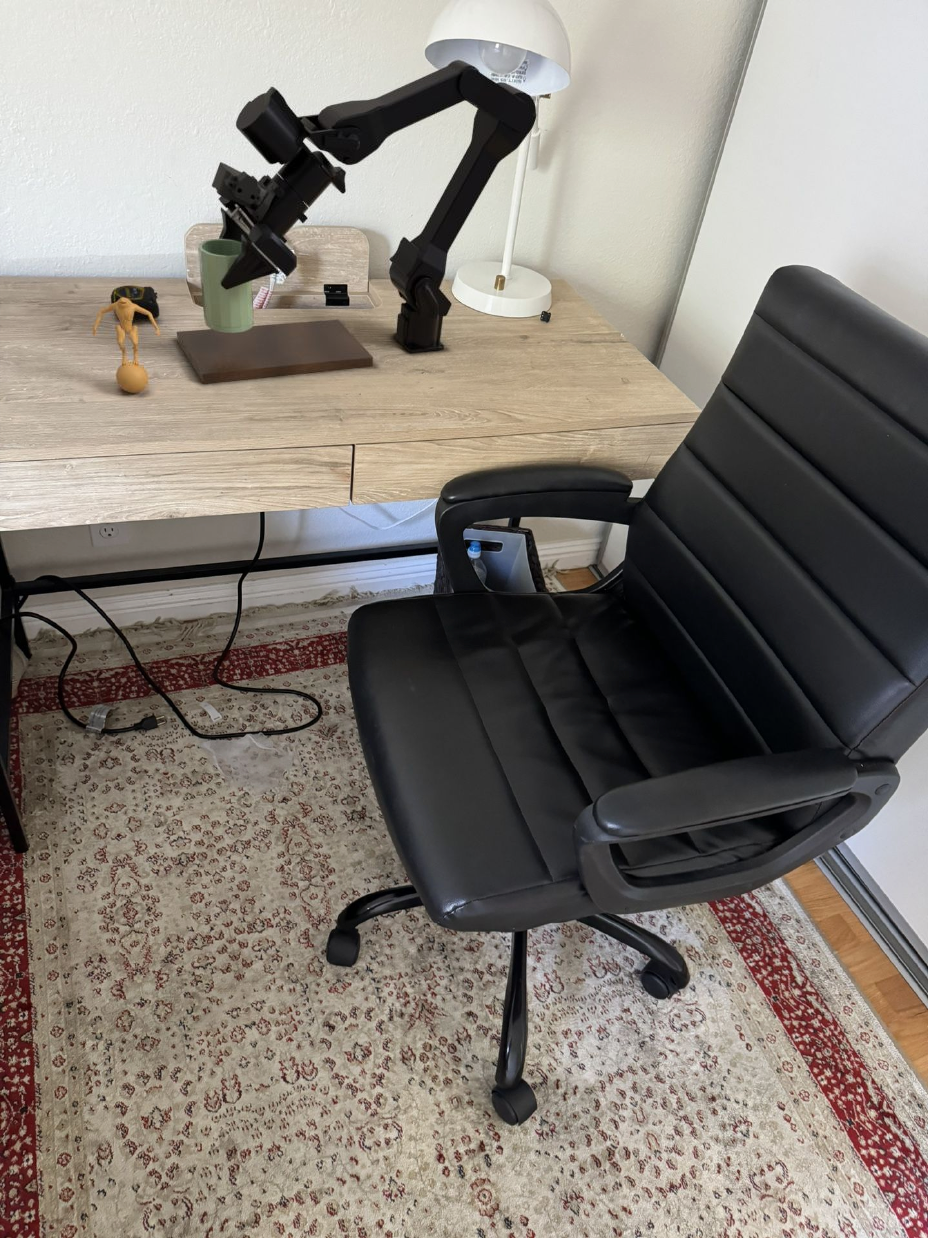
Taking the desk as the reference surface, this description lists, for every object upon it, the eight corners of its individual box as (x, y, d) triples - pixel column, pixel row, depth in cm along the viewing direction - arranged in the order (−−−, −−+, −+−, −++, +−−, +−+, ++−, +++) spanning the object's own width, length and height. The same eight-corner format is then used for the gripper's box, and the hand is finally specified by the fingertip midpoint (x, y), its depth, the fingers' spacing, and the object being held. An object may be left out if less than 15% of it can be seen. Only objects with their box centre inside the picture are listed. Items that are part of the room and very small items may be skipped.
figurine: (100, 397, 107) (83, 307, 99) (103, 376, 111) (88, 288, 103) (166, 398, 109) (155, 310, 101) (167, 377, 113) (157, 292, 105)
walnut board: (338, 327, 133) (338, 319, 132) (372, 366, 124) (373, 356, 123) (177, 340, 122) (176, 331, 121) (203, 383, 113) (202, 373, 112)
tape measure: (161, 325, 125) (158, 301, 122) (113, 325, 122) (109, 300, 120) (158, 307, 129) (156, 283, 127) (112, 306, 127) (109, 282, 125)
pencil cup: (255, 315, 119) (252, 241, 112) (251, 334, 114) (247, 258, 107) (208, 311, 118) (202, 236, 111) (201, 330, 113) (194, 253, 106)
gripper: (229, 122, 108) (154, 210, 111) (270, 163, 97) (185, 260, 99) (287, 186, 117) (216, 266, 119) (331, 231, 105) (251, 319, 108)
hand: (216, 276), depth 111 cm, fingers closed on pencil cup, 7 cm apart
